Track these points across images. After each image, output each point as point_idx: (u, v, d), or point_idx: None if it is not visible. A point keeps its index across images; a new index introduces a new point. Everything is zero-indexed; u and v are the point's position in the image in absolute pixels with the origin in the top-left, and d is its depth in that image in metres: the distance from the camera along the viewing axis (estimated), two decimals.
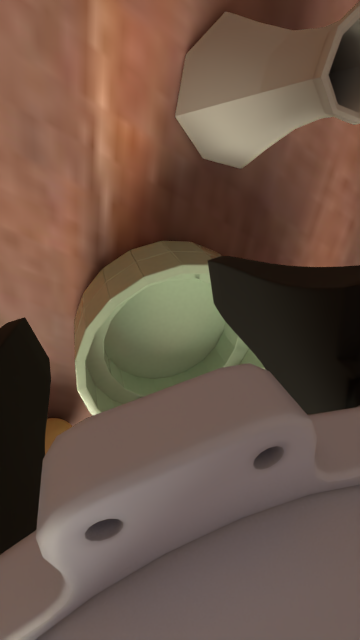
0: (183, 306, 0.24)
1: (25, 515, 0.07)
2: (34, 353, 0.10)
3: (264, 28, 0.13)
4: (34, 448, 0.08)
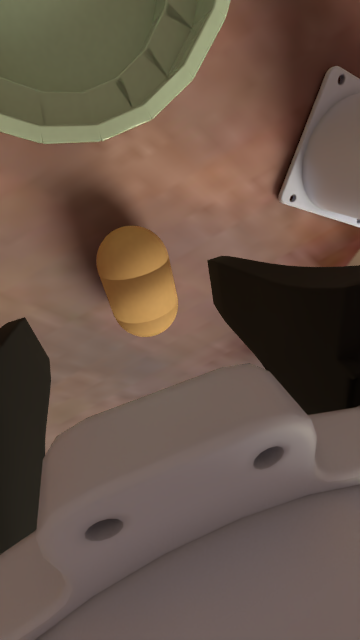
0: None
1: (25, 515, 0.07)
2: (34, 353, 0.10)
3: None
4: (34, 448, 0.08)
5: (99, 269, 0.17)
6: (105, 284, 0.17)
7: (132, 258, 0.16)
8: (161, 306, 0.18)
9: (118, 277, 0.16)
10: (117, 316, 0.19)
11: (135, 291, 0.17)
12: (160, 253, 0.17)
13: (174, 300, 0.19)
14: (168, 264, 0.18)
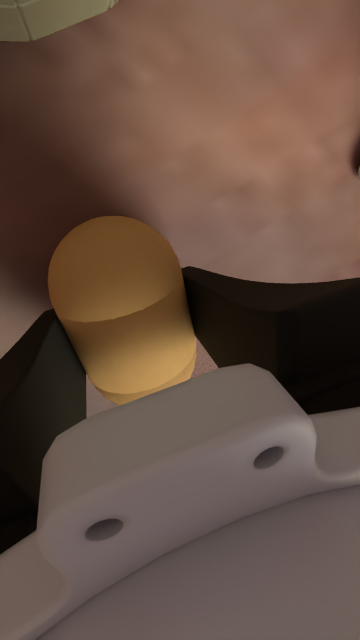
0: None
1: None
2: None
3: None
4: None
5: (51, 299, 0.09)
6: (64, 326, 0.09)
7: (111, 281, 0.08)
8: (169, 363, 0.10)
9: (85, 317, 0.08)
10: (91, 379, 0.10)
11: (119, 342, 0.09)
12: (167, 268, 0.09)
13: (191, 348, 0.11)
14: (181, 287, 0.10)
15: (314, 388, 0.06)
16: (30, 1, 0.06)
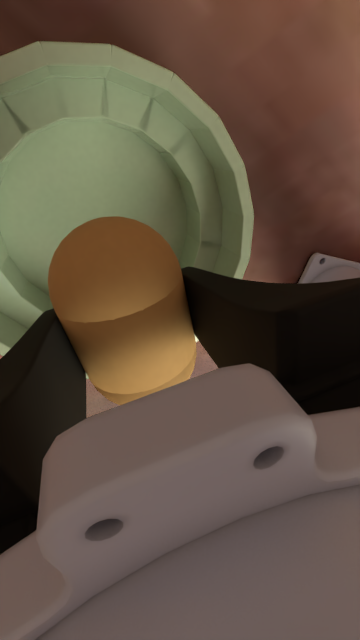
0: (78, 191, 0.16)
1: None
2: None
3: None
4: None
5: (51, 299, 0.09)
6: (64, 326, 0.09)
7: (111, 281, 0.08)
8: (169, 364, 0.10)
9: (85, 317, 0.08)
10: (91, 379, 0.10)
11: (119, 342, 0.09)
12: (167, 269, 0.09)
13: (191, 348, 0.11)
14: (181, 288, 0.10)
15: (314, 388, 0.06)
16: None
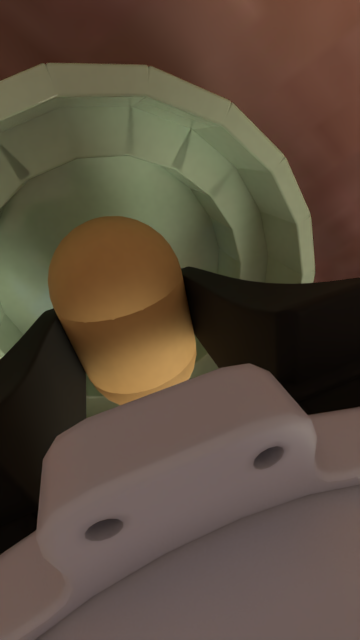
0: None
1: None
2: None
3: None
4: None
5: (51, 299, 0.09)
6: (64, 326, 0.09)
7: (111, 281, 0.08)
8: (169, 364, 0.10)
9: (85, 317, 0.08)
10: (91, 379, 0.10)
11: (119, 342, 0.09)
12: (167, 268, 0.09)
13: (191, 348, 0.11)
14: (181, 287, 0.10)
15: (314, 388, 0.06)
16: None
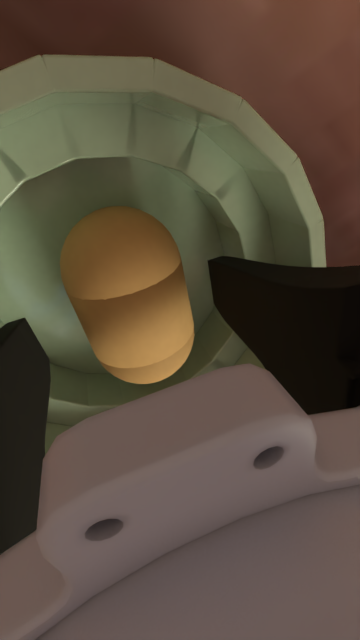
0: None
1: (25, 515, 0.07)
2: (34, 353, 0.10)
3: None
4: (34, 448, 0.08)
5: (67, 283, 0.10)
6: (80, 308, 0.10)
7: (128, 259, 0.09)
8: (177, 335, 0.11)
9: (105, 294, 0.09)
10: (104, 359, 0.11)
11: (136, 316, 0.10)
12: (172, 248, 0.10)
13: (192, 322, 0.12)
14: (182, 266, 0.11)
15: None
16: None
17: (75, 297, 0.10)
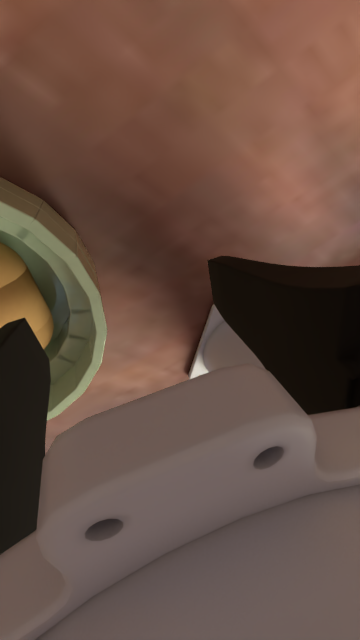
0: None
1: (25, 515, 0.07)
2: (34, 353, 0.10)
3: None
4: (34, 448, 0.08)
5: None
6: None
7: None
8: (40, 314, 0.16)
9: None
10: None
11: (8, 302, 0.15)
12: (18, 257, 0.16)
13: (47, 307, 0.18)
14: (28, 269, 0.16)
15: None
16: None
17: None
